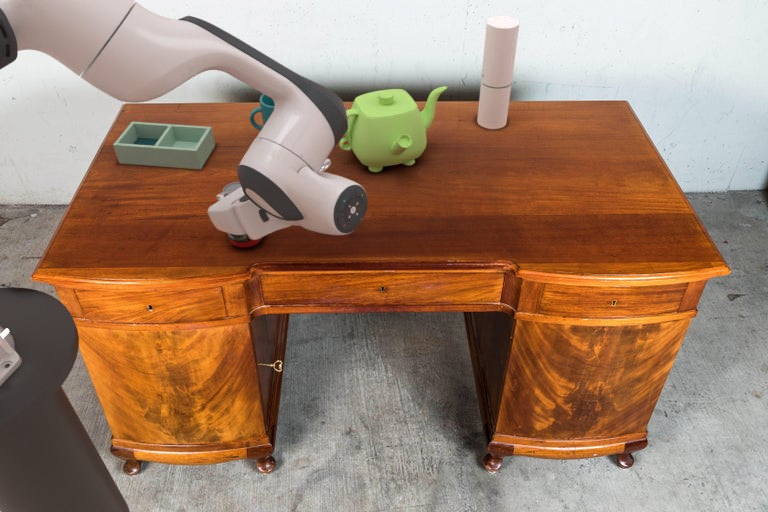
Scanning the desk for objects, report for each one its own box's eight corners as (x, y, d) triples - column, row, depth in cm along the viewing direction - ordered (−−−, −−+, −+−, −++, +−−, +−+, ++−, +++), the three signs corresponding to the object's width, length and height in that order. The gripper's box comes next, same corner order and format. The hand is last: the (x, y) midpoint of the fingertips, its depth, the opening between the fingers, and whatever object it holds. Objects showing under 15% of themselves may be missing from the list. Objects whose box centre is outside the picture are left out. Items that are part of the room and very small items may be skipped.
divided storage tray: (200, 169, 147) (196, 150, 144) (119, 163, 149) (112, 144, 146) (215, 145, 155) (211, 126, 151) (137, 139, 157) (132, 121, 153)
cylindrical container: (501, 112, 164) (513, 14, 148) (510, 127, 159) (523, 27, 143) (473, 115, 164) (482, 16, 147) (481, 130, 158) (492, 29, 142)
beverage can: (222, 238, 129) (211, 189, 121) (251, 223, 133) (242, 174, 125) (241, 255, 126) (231, 205, 118) (270, 239, 129) (262, 190, 121)
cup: (255, 131, 159) (248, 88, 152) (305, 129, 159) (300, 87, 152) (251, 151, 152) (244, 108, 145) (303, 150, 153) (298, 106, 145)
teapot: (358, 198, 139) (355, 133, 128) (331, 146, 154) (327, 84, 143) (467, 175, 144) (473, 112, 134) (430, 127, 160) (433, 66, 149)
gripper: (329, 144, 105) (282, 137, 115) (228, 211, 95) (186, 198, 105) (343, 178, 108) (295, 169, 118) (246, 246, 99) (203, 230, 109)
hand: (243, 183), depth 112 cm, fingers open, 8 cm apart
